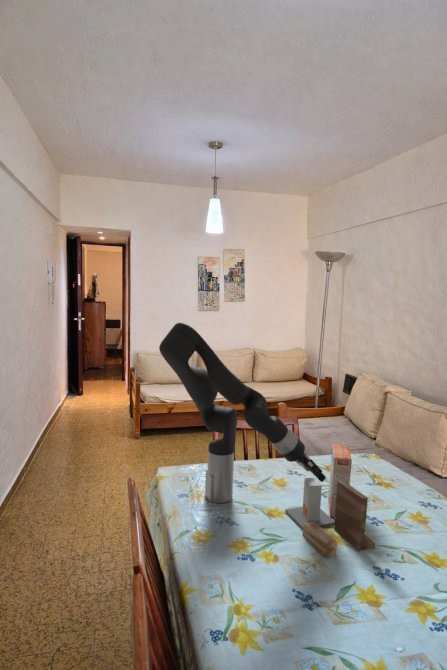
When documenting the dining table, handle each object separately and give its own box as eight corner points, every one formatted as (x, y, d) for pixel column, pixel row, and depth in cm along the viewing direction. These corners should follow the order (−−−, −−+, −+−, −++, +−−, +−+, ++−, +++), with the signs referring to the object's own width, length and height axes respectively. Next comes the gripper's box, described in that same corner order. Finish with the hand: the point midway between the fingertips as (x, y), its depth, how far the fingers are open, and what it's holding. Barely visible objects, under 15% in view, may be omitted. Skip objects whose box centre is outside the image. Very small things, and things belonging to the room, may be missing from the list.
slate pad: (303, 530, 134) (303, 527, 134) (285, 512, 145) (285, 509, 145) (335, 525, 138) (335, 522, 138) (315, 507, 149) (315, 504, 149)
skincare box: (302, 511, 144) (304, 477, 143) (314, 511, 144) (316, 477, 143) (307, 521, 138) (309, 485, 137) (320, 521, 138) (322, 485, 137)
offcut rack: (324, 558, 120) (327, 503, 119) (302, 535, 132) (305, 485, 130) (375, 547, 127) (379, 495, 125) (349, 526, 138) (353, 478, 136)
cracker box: (348, 520, 142) (352, 459, 140) (329, 517, 143) (333, 457, 141) (345, 500, 155) (348, 444, 153) (327, 498, 156) (331, 443, 154)
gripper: (306, 442, 130) (336, 474, 135) (284, 428, 143) (311, 457, 148) (290, 460, 129) (321, 492, 134) (269, 444, 142) (297, 474, 147)
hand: (316, 474), depth 141 cm, fingers open, 8 cm apart
